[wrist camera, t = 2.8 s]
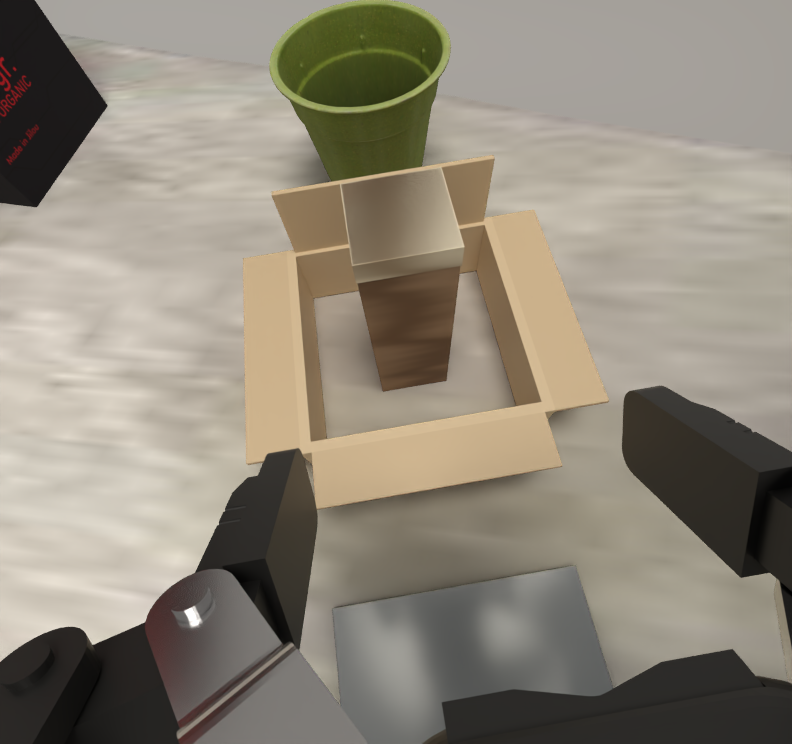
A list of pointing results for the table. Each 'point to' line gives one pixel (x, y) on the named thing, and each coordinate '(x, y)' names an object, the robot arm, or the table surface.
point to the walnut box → (405, 271)
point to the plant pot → (363, 83)
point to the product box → (38, 103)
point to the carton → (434, 440)
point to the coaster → (463, 650)
